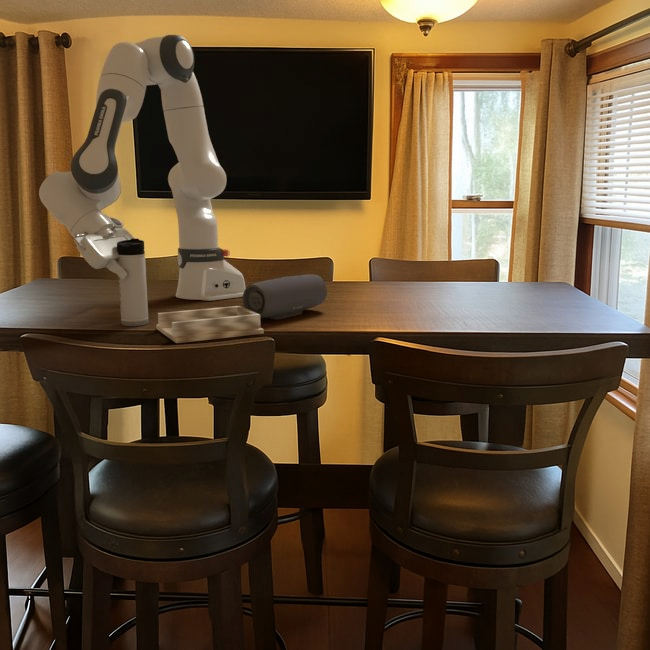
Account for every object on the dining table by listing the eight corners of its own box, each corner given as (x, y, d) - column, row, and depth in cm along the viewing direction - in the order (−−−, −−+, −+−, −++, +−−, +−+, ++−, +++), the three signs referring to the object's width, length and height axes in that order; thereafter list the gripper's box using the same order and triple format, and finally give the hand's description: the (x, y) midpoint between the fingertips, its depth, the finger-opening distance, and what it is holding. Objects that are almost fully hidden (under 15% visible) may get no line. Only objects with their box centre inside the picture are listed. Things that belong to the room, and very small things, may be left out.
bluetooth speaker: (301, 307, 186) (301, 270, 184) (328, 311, 180) (328, 273, 178) (240, 320, 168) (239, 280, 166) (268, 326, 163) (267, 284, 161)
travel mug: (152, 321, 167) (148, 238, 163) (143, 326, 161) (138, 241, 157) (127, 320, 168) (123, 238, 164) (117, 326, 161) (112, 240, 157)
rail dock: (237, 320, 168) (237, 304, 167) (263, 333, 154) (263, 316, 154) (156, 328, 159) (155, 311, 158) (176, 343, 145) (175, 324, 144)
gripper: (77, 225, 151) (121, 270, 151) (123, 219, 170) (161, 260, 170) (61, 245, 153) (104, 290, 153) (107, 237, 172) (146, 277, 172)
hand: (134, 274), depth 162 cm, fingers open, 7 cm apart
